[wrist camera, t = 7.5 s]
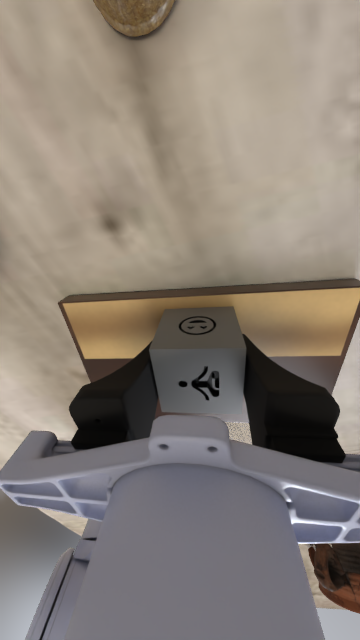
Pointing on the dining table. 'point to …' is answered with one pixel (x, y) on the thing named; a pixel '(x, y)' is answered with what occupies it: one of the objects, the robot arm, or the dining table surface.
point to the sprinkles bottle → (134, 14)
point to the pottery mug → (338, 572)
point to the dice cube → (199, 361)
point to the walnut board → (253, 317)
